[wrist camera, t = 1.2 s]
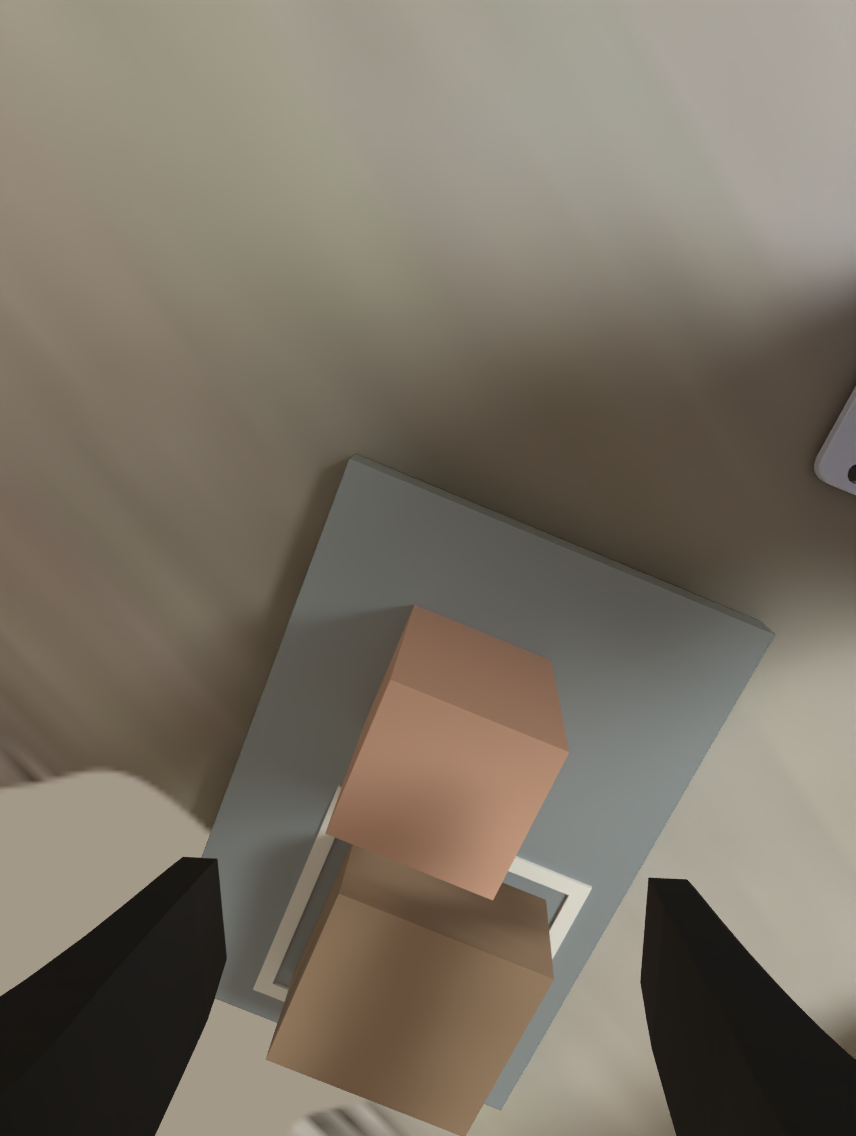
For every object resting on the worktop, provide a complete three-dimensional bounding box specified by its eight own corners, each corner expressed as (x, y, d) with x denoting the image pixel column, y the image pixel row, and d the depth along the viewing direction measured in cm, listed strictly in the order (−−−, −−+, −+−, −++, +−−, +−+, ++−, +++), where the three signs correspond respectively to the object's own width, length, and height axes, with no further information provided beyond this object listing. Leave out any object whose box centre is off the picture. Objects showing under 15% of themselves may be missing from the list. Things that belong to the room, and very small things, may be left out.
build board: (762, 621, 21) (776, 636, 20) (500, 1082, 26) (501, 1113, 25) (356, 454, 20) (348, 459, 19) (170, 952, 25) (156, 978, 24)
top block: (551, 660, 20) (569, 752, 16) (492, 780, 22) (493, 900, 17) (414, 604, 20) (390, 679, 16) (362, 728, 21) (325, 833, 17)
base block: (545, 900, 22) (553, 979, 20) (468, 1044, 24) (464, 1137, 21) (358, 824, 22) (338, 893, 19) (293, 975, 24) (265, 1059, 21)
